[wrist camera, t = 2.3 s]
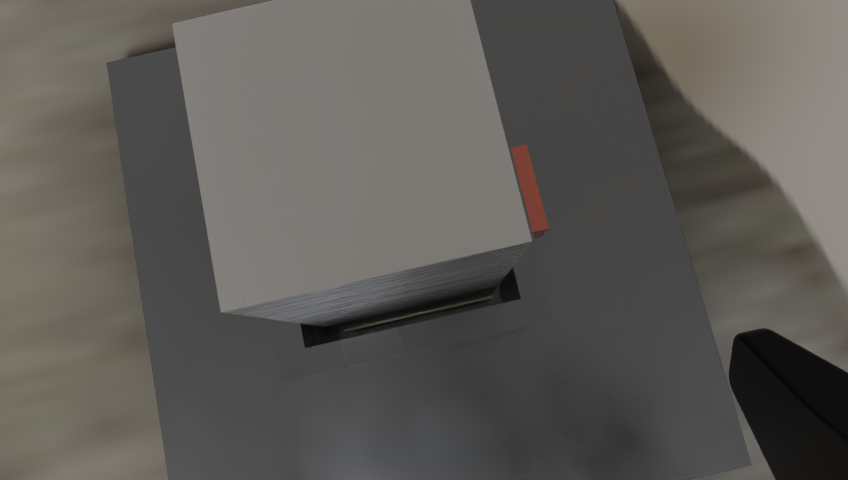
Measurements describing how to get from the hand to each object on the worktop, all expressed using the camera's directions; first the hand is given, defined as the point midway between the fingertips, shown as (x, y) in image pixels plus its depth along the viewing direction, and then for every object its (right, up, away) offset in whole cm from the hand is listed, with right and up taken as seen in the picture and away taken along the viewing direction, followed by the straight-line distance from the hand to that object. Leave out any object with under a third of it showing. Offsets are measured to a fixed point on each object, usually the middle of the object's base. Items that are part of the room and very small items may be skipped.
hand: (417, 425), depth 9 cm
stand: (0, +2, +11) cm, 11 cm away
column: (-1, +2, +10) cm, 10 cm away
